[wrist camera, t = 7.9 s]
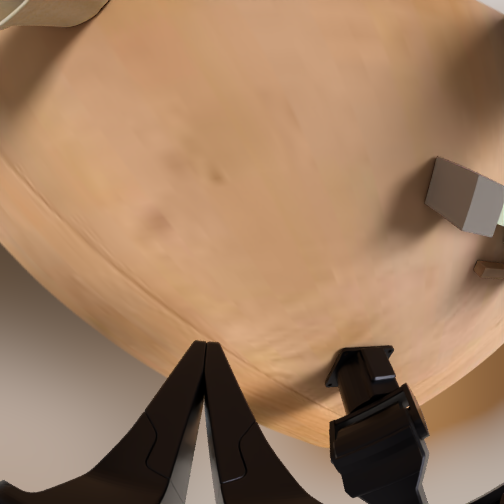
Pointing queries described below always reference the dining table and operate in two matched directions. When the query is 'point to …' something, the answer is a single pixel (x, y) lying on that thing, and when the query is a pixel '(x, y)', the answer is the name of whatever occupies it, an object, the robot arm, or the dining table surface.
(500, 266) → the bay
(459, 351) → the dining table surface
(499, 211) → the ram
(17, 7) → the flower pot
